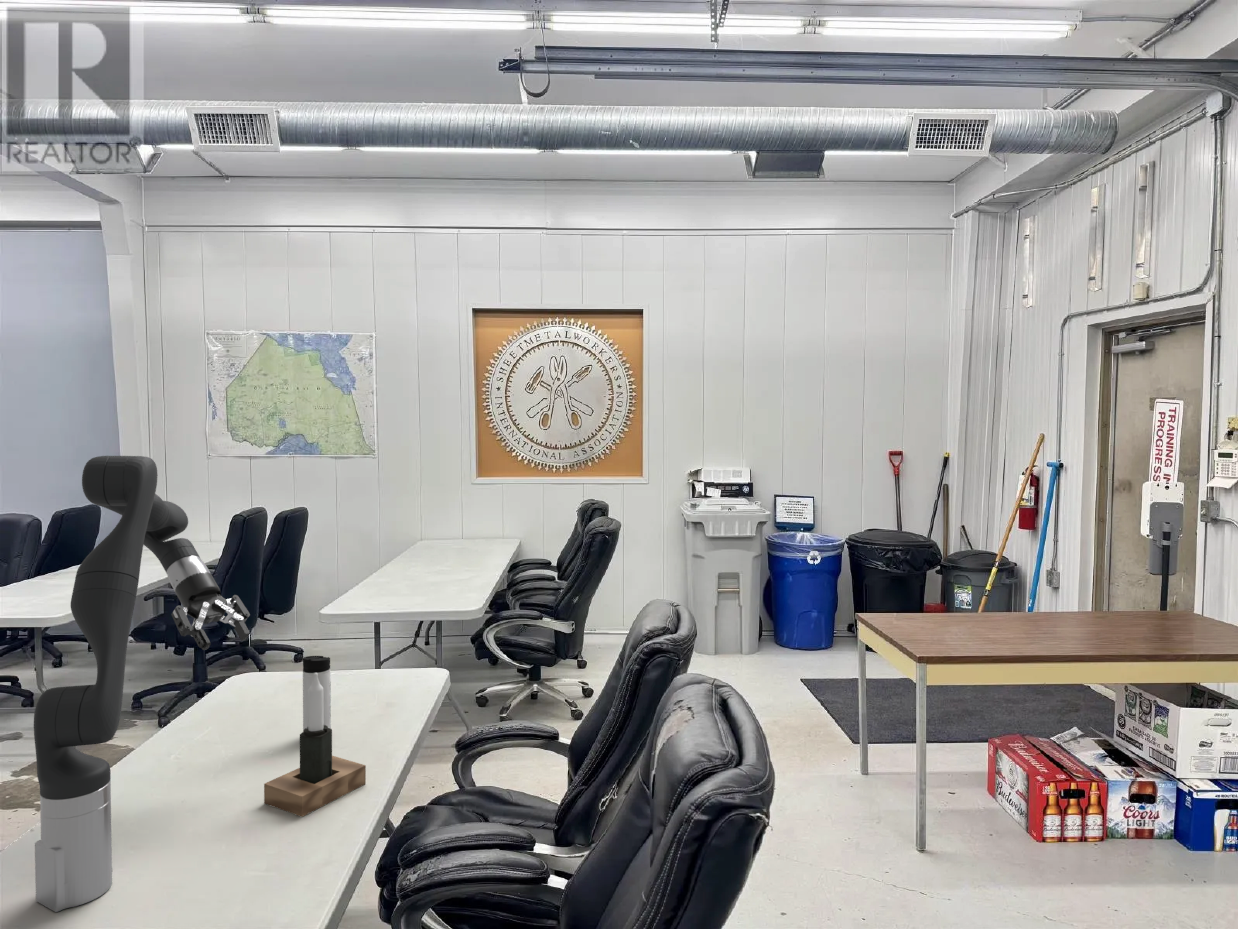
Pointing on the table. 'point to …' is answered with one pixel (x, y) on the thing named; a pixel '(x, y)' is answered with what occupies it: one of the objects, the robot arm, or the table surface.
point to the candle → (315, 739)
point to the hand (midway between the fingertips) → (227, 642)
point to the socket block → (314, 788)
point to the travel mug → (324, 675)
